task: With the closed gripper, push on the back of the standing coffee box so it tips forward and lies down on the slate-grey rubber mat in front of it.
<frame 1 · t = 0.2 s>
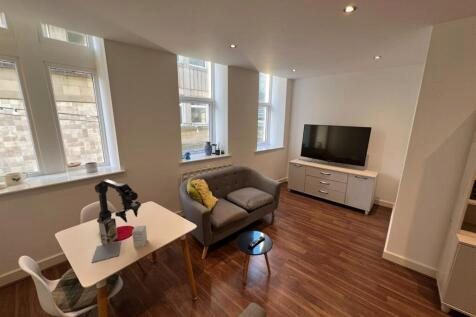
hand: (131, 219, 149), 15 cm above the table, tool pointing down, fingers open, 9 cm apart
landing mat: (107, 251, 136), on the table
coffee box: (109, 240, 147), on the table, touching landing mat
supplement box: (140, 243, 145), on the table
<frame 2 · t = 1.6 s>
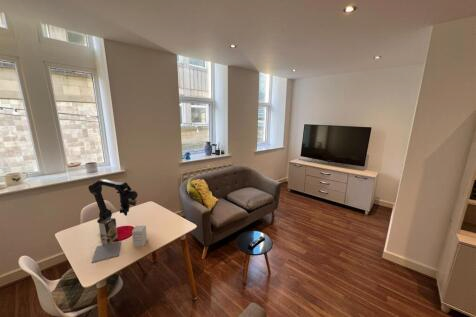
hand: (126, 215, 159), 13 cm above the table, tool pointing down, fingers closed
nothing on the table moved.
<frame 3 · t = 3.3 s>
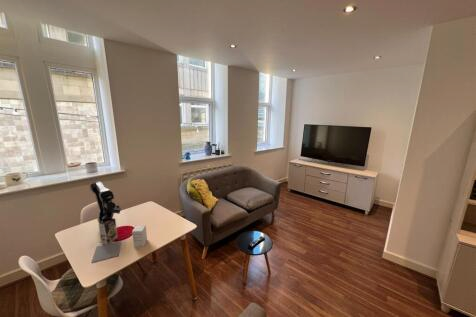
hand: (110, 224, 153), 9 cm above the table, tool pointing down, fingers closed
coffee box: (109, 240, 147), on the table, touching gripper, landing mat
everything else where it was.
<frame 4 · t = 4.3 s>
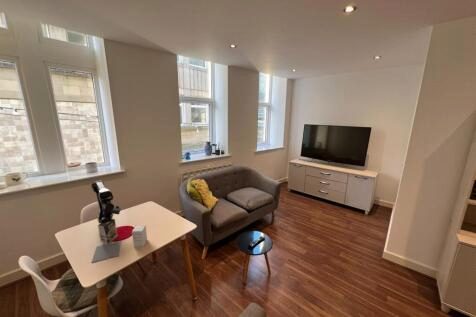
hand: (109, 224, 151), 10 cm above the table, tool pointing down, fingers closed
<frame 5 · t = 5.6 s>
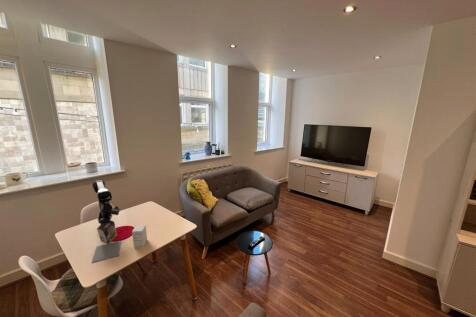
hand: (108, 225, 147), 12 cm above the table, tool pointing down, fingers closed
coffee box: (109, 238, 146), point 3 cm above the table, touching gripper, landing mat
everything else where it was.
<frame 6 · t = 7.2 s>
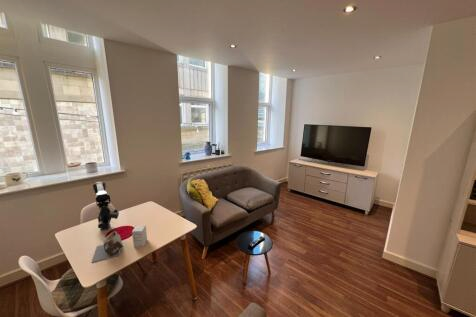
hand: (107, 229, 141), 12 cm above the table, tool pointing down, fingers closed
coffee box: (111, 237, 143), point 5 cm above the table
everything else where it was.
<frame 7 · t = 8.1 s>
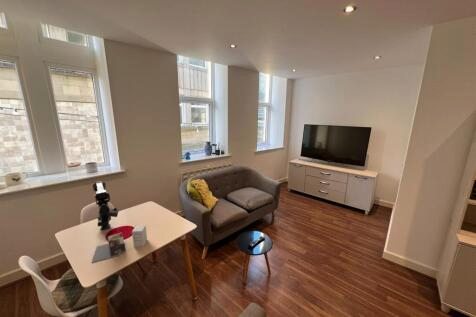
hand: (106, 228, 141), 13 cm above the table, tool pointing down, fingers closed
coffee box: (115, 237, 145), point 4 cm above the table, touching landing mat
everything else where it was.
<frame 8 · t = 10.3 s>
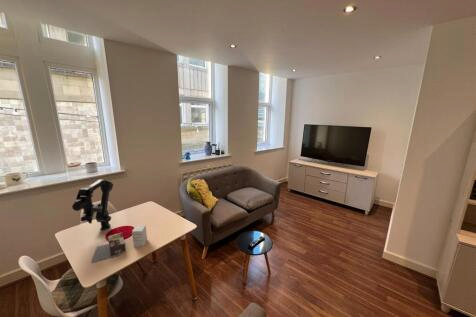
hand: (90, 223, 147), 13 cm above the table, tool pointing down, fingers closed
nothing on the table moved.
at the end: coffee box tilted 90°; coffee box touching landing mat; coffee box inside the target area (4.7 cm from its centre), point 3.8 cm above the table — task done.
